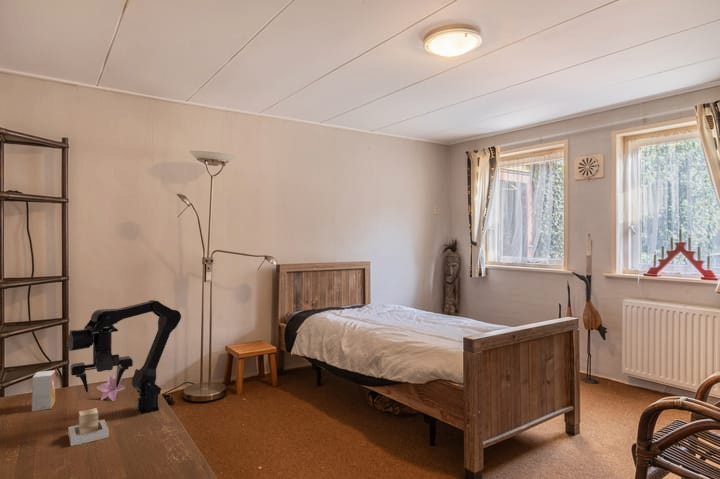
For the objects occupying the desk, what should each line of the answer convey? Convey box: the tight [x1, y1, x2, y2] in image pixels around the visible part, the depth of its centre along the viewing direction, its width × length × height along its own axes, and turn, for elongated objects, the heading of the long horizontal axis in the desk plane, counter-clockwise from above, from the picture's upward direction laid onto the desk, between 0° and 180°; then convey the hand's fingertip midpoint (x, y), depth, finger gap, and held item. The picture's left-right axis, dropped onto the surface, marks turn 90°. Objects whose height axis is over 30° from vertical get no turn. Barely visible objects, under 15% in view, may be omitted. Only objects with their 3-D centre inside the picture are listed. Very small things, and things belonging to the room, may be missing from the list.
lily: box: [96, 373, 126, 402], centre depth 182 cm, size 11×11×9 cm
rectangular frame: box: [67, 419, 110, 447], centre depth 146 cm, size 10×10×2 cm
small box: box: [31, 369, 56, 412], centre depth 172 cm, size 8×6×13 cm
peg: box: [78, 407, 99, 435], centre depth 146 cm, size 5×5×8 cm
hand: (102, 389), depth 156 cm, fingers open, 9 cm apart
